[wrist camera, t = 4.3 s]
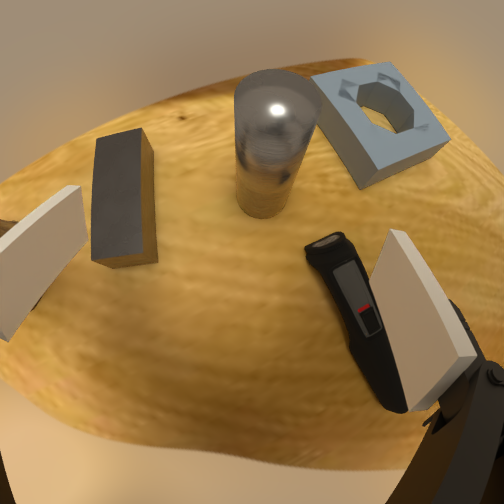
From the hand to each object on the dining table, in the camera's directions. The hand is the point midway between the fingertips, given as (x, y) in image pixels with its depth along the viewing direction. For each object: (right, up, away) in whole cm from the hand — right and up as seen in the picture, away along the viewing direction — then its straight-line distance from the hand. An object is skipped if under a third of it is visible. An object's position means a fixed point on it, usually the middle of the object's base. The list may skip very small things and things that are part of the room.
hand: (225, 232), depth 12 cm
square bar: (-9, +3, +12) cm, 15 cm away
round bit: (+2, +4, +12) cm, 13 cm away
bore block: (+13, +11, +14) cm, 22 cm away
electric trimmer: (+10, -6, +11) cm, 16 cm away
